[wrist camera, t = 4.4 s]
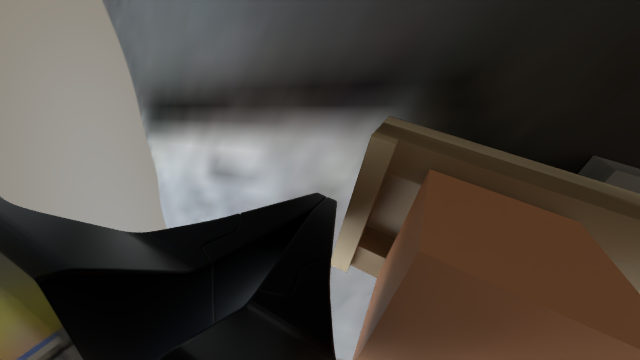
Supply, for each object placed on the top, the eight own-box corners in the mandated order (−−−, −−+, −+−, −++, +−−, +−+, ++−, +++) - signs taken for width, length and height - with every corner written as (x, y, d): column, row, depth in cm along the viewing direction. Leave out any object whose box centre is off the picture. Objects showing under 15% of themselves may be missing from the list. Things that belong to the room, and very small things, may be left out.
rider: (477, 292, 10) (502, 471, 6) (385, 250, 11) (348, 374, 7) (558, 196, 8) (712, 381, 3) (431, 153, 9) (419, 251, 4)
